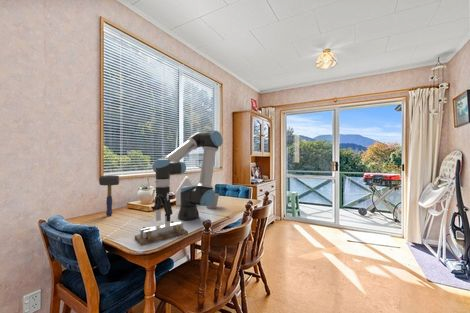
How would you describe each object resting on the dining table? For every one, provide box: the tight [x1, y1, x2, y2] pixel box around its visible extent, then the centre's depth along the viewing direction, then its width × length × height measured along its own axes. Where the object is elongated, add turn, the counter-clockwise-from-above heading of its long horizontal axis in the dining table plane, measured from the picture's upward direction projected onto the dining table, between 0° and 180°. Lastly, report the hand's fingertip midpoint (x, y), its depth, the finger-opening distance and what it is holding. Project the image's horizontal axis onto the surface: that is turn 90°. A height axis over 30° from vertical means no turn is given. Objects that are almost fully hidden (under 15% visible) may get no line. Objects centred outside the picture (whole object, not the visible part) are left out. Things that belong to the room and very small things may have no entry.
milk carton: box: [175, 175, 195, 207], centre depth 205 cm, size 19×15×25 cm
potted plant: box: [205, 187, 220, 210], centre depth 190 cm, size 13×14×20 cm
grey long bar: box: [139, 221, 184, 240], centre depth 122 cm, size 23×6×4 cm, turn 131°
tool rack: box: [134, 220, 189, 246], centre depth 122 cm, size 26×12×6 cm, turn 130°
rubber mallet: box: [98, 175, 120, 217], centre depth 161 cm, size 12×8×30 cm, turn 109°
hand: (162, 223), depth 122 cm, fingers open, 13 cm apart
